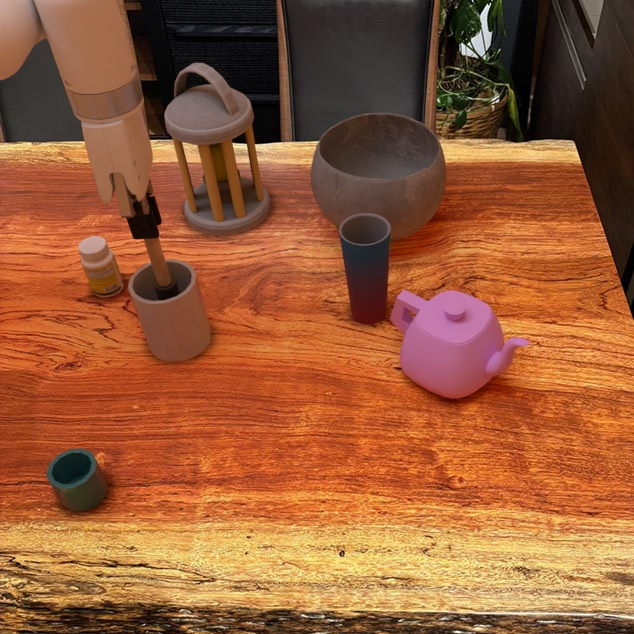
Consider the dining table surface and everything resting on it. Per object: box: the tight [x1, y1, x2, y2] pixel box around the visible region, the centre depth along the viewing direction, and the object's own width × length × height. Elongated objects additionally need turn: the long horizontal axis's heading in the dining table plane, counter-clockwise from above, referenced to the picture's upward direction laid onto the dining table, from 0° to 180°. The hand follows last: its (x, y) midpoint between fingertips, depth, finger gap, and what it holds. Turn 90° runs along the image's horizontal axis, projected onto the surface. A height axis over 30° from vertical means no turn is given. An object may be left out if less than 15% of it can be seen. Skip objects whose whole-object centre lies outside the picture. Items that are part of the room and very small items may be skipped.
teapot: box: [389, 289, 531, 400], centre depth 104 cm, size 13×20×11 cm, turn 54°
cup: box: [338, 213, 391, 325], centre depth 110 cm, size 7×7×15 cm
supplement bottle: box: [77, 235, 125, 298], centre depth 118 cm, size 5×5×8 cm
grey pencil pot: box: [127, 258, 212, 363], centre depth 110 cm, size 9×9×11 cm
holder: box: [46, 447, 109, 513], centre depth 95 cm, size 6×6×5 cm
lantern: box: [164, 62, 271, 236], centre depth 124 cm, size 14×14×25 cm
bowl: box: [310, 112, 447, 243], centre depth 124 cm, size 20×20×15 cm
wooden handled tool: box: [131, 195, 180, 301], centre depth 102 cm, size 3×3×19 cm
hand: (147, 230), depth 99 cm, fingers closed on wooden handled tool
